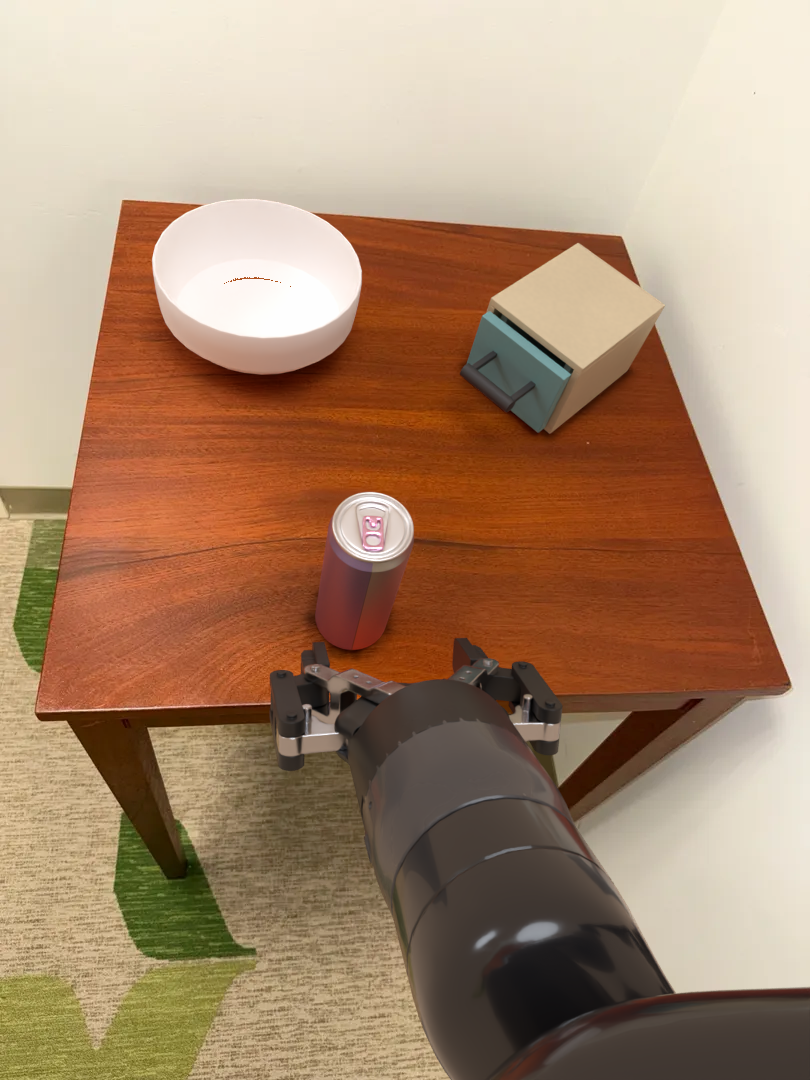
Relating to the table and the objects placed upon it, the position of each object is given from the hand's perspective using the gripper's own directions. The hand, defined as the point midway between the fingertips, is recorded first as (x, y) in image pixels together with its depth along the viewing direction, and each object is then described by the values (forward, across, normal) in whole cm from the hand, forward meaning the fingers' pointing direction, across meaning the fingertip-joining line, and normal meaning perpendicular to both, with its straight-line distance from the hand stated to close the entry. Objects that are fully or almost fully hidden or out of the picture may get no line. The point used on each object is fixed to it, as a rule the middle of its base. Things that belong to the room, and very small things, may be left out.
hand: (388, 654), depth 46 cm
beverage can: (+19, 0, +5) cm, 19 cm away
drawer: (+37, -21, -15) cm, 45 cm away
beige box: (+39, -24, -16) cm, 49 cm away
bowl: (+42, +7, -19) cm, 47 cm away
